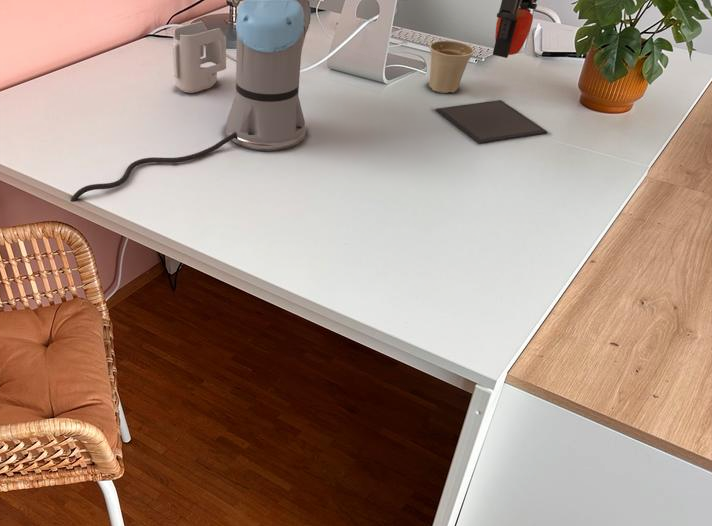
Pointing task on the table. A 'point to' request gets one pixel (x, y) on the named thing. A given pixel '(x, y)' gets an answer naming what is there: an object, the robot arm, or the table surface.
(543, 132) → the place mat
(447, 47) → the flower pot
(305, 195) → the table surface
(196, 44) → the grey boxy plastic piece
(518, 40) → the red bell pepper
